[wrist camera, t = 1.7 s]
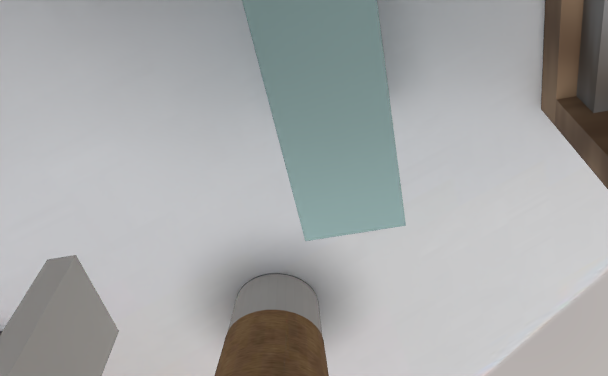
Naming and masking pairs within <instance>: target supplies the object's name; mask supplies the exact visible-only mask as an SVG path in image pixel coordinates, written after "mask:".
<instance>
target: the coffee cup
mask: <svg viewBox="0 0 608 376" xmlns="http://www.w3.org/2000/svg"><path fill="white" fill-rule="evenodd" d="M215 376H329V375H328V368H327V361H326V354H325V348H324V341H323V337H322V330H321V321H320V312H319V304H318V299H317V296H316V294H315V293H314V291H313V289H312V288H311V287H310V286H309V285H308V284H306V283H305V282H303V281H302V280H300V279H298V278H295V277H292V276H289V275H283V274H268V275H263V276H260V277H257V278H254V279H253V280H251V281H249V282H248V283H247V284H245V285H244V286H243V287H242V289H241V290H240V291H239V293H238V296H237V299H236V302H235V306H234V310H233V314H232V318H231V322H230V326H229V330H228V333H227V335H226V338H225V342H224V345H223V349H222V352H221V356H220V359H219V362H218V366H217V369H216V373H215Z"/></svg>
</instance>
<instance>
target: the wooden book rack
mask: <svg viewBox="0 0 608 376" xmlns="http://www.w3.org/2000/svg"><path fill="white" fill-rule="evenodd" d="M541 110H542V111H543V112H544V113H545V114H546V116H547V117H548V118H549V119H550V120H551V122H552V123H553V124H554V125H555V126H556V128H557V129H558V130H559V131H560V132H561V134H562V135H563V136H564V137H565V138H566V140H567V141H568V142H569V143H570V144H571V146H572V147H573V148H574V149H575V150H576V152H577V153H578V154H579V155H580V156H581V158H582V159H583V160H584V161H585V162H586V164H587V165H588V166H589V167H590V168H591V170H592V171H593V172H594V173H595V174H596V176H597V177H598V178H599V179H600V180H601V182H602V183H603V184H604V185H605V186H606V188H607V189H608V0H545V24H544V50H543V75H542V101H541Z"/></svg>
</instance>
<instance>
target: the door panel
mask: <svg viewBox="0 0 608 376" xmlns="http://www.w3.org/2000/svg"><path fill="white" fill-rule="evenodd" d="M242 2H243V6H244V9H245V13H246V17H247V21H248V25H249V28H250V32H251V36H252V40H253V44H254V47H255V51H256V55H257V59H258V63H259V66H260V70H261V74H262V78H263V82H264V85H265V89H266V93H267V97H268V101H269V104H270V108H271V112H272V116H273V120H274V123H275V127H276V131H277V135H278V139H279V142H280V146H281V150H282V154H283V158H284V161H285V165H286V169H287V173H288V177H289V180H290V184H291V188H292V192H293V196H294V199H295V203H296V207H297V211H298V215H299V218H300V222H301V226H302V230H303V234H304V238H305V241H310V240H316V239H323V238H329V237H335V236H342V235H348V234H355V233H361V232H368V231H374V230H380V229H387V228H393V227H400V226H406V223H405V216H404V208H403V200H402V192H401V185H400V177H399V169H398V161H397V154H396V146H395V138H394V130H393V123H392V115H391V107H390V99H389V92H388V84H387V76H386V68H385V61H384V53H383V45H382V37H381V29H380V22H379V14H378V6H377V0H242Z"/></svg>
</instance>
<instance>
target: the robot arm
mask: <svg viewBox="0 0 608 376" xmlns="http://www.w3.org/2000/svg"><path fill="white" fill-rule="evenodd" d="M118 332H119V330H118V329H117V327H116V325H115V323H114V322H113V320H112V318H111V316H110V315H109V313H108V311H107V309H106V307H105V306H104V304H103V302H102V300H101V299H100V297H99V295H98V293H97V292H96V290H95V288H94V286H93V285H92V283H91V281H90V279H89V277H88V276H87V274H86V272H85V270H84V269H83V267H82V265H81V263H80V262H79V260H78V258H77V256H76V255H74V256H67V257H61V258H55V259H49V260H47V261H46V263H45V264H44V266H43V267H42V269H41V271H40V272H39V274H38V275H37V277H36V279H35V280H34V282H33V283H32V285H31V287H30V288H29V290H28V291H27V293H26V295H25V296H24V298H23V299H22V301H21V303H20V304H19V306H18V307H17V309H16V311H15V312H14V314H13V315H12V317H11V319H10V320H9V322H8V323H7V325H6V327H5V328H4V330H3V331H2V333H1V335H0V376H102V373H103V370H104V368H105V365H106V363H107V360H108V358H109V355H110V353H111V350H112V347H113V345H114V342H115V340H116V337H117V335H118Z"/></svg>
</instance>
